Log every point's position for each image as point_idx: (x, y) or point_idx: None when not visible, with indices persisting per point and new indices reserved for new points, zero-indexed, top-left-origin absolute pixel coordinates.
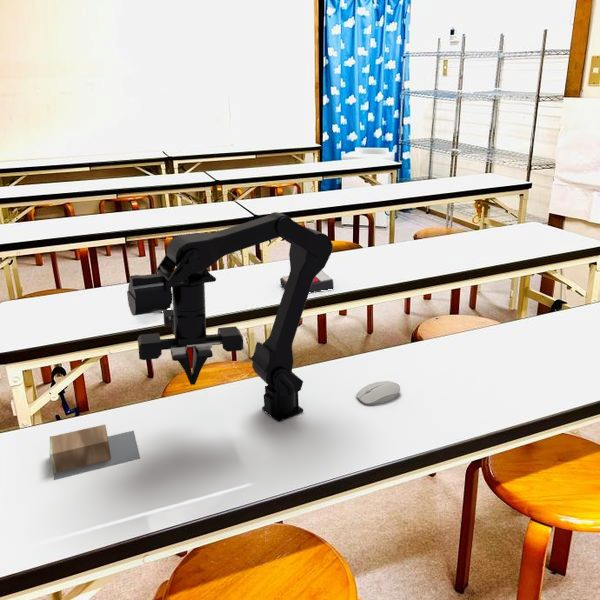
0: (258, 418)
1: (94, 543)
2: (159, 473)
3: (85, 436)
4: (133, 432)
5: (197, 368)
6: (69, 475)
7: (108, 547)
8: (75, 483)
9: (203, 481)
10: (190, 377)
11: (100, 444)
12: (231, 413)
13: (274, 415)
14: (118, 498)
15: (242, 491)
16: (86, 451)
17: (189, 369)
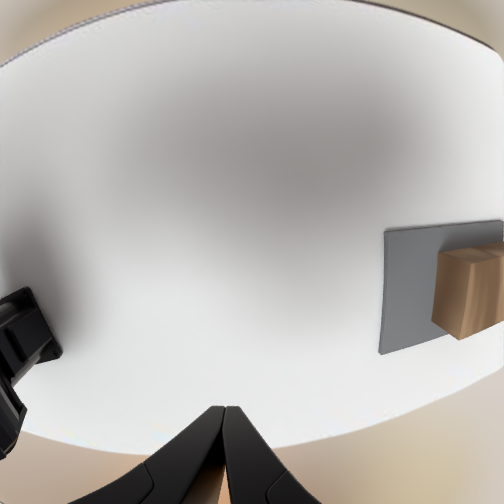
0: (68, 322)
1: (435, 32)
2: (346, 158)
3: (493, 297)
4: (383, 347)
5: (155, 492)
6: (490, 223)
7: (415, 13)
8: (480, 201)
9: (238, 85)
10: (239, 439)
11: (478, 260)
12: (132, 369)
13: (31, 307)
14: (423, 113)
15: (155, 34)
16: (490, 254)
17: (249, 498)
